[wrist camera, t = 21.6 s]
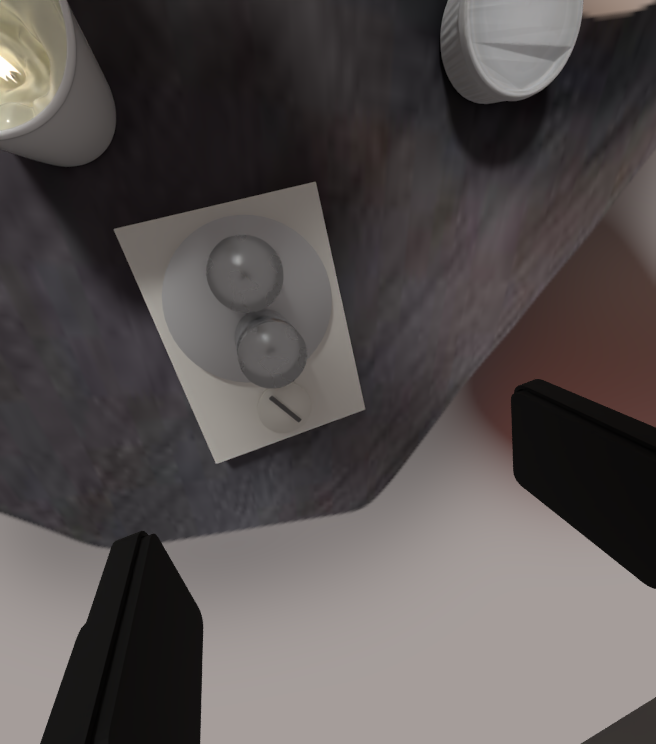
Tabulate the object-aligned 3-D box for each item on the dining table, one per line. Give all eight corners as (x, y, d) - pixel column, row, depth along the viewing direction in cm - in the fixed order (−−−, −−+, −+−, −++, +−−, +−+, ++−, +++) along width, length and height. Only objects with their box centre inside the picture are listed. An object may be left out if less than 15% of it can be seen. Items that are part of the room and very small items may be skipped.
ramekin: (459, 142, 35) (498, 126, 30) (405, 11, 30) (441, -32, 26) (547, 71, 35) (599, 44, 31) (508, -70, 31) (562, -127, 26)
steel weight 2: (221, 337, 31) (222, 357, 25) (263, 296, 31) (273, 307, 25) (264, 375, 33) (273, 401, 27) (303, 336, 33) (320, 354, 27)
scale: (122, 230, 30) (109, 228, 26) (307, 186, 32) (318, 179, 29) (216, 448, 38) (216, 469, 35) (355, 398, 41) (368, 413, 38)
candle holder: (13, 190, 27) (-122, 156, 16) (-71, 22, 23) (-321, -172, 12) (149, 166, 29) (111, 120, 18) (93, 6, 25) (0, -175, 14)
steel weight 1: (198, 244, 28) (194, 245, 23) (261, 229, 29) (271, 226, 23) (220, 306, 30) (221, 321, 24) (278, 290, 31) (292, 301, 25)
